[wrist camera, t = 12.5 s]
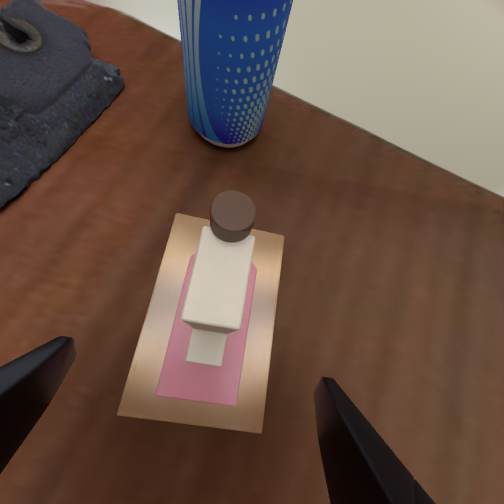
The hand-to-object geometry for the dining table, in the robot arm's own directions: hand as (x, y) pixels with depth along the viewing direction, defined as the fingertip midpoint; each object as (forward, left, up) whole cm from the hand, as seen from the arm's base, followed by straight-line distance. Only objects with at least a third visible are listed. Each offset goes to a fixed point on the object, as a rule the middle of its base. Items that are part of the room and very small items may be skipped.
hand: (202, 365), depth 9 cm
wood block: (+3, -1, -13) cm, 13 cm away
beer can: (+25, -2, -13) cm, 28 cm away
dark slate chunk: (+24, +20, -13) cm, 34 cm away
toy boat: (+2, 0, -8) cm, 9 cm away
